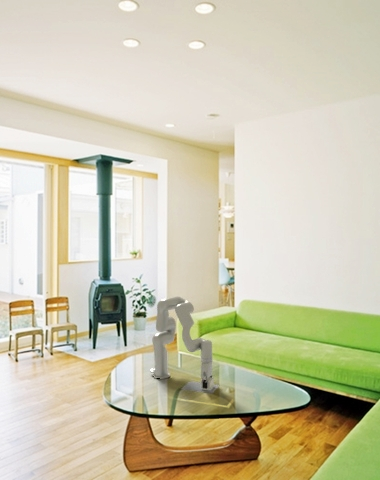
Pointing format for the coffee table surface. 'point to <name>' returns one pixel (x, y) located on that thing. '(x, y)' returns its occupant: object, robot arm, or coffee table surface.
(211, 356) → the robot arm
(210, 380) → the white knobbed cube
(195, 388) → the board
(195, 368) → the coffee table surface
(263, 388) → the coffee table surface
